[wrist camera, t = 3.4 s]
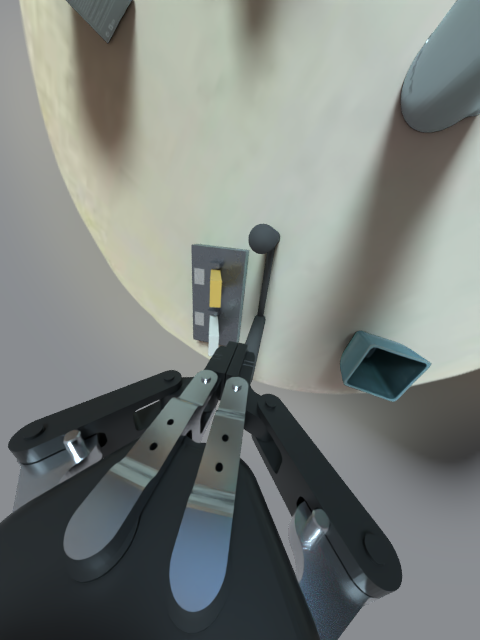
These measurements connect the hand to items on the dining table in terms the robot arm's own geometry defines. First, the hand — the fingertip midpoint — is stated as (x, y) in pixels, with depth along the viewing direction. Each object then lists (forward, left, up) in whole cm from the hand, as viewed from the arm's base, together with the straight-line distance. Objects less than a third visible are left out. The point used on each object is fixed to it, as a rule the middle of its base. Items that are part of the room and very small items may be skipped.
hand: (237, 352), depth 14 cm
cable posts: (0, 0, -24) cm, 24 cm away
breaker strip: (+9, +5, -24) cm, 26 cm away
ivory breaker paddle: (+9, +9, -20) cm, 24 cm away
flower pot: (-21, +10, -24) cm, 34 cm away
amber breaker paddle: (+9, 0, -20) cm, 22 cm away
